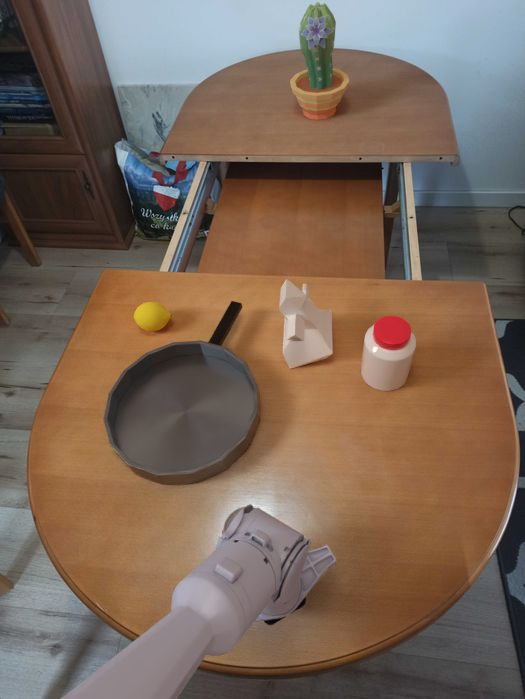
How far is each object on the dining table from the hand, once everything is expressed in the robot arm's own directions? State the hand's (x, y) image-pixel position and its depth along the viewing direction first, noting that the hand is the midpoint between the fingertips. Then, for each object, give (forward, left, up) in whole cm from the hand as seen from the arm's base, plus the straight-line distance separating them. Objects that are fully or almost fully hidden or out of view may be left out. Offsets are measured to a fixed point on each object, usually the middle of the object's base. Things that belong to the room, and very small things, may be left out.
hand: (279, 602), depth 61 cm
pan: (+26, +24, -2) cm, 35 cm away
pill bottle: (+39, -4, -2) cm, 39 cm away
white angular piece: (+41, +10, -2) cm, 42 cm away
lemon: (+36, +38, -2) cm, 52 cm away
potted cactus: (+117, +32, -2) cm, 121 cm away
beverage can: (+2, +3, -1) cm, 4 cm away
